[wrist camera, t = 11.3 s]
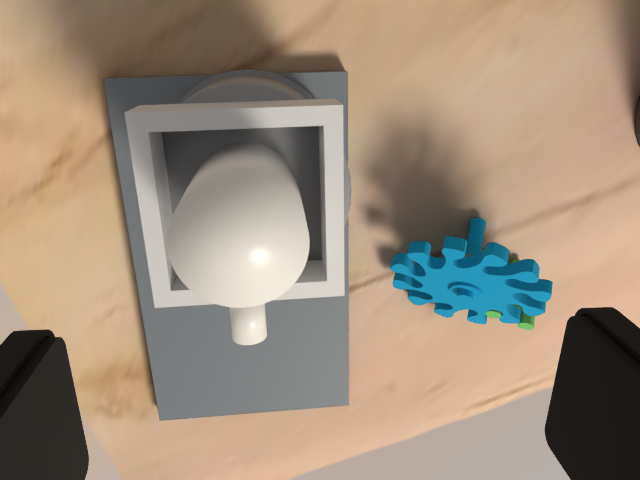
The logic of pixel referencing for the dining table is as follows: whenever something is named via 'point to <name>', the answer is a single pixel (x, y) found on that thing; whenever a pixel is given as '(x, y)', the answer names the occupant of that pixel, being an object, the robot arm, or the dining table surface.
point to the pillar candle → (638, 122)
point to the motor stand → (163, 198)
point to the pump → (240, 234)
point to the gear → (473, 280)
